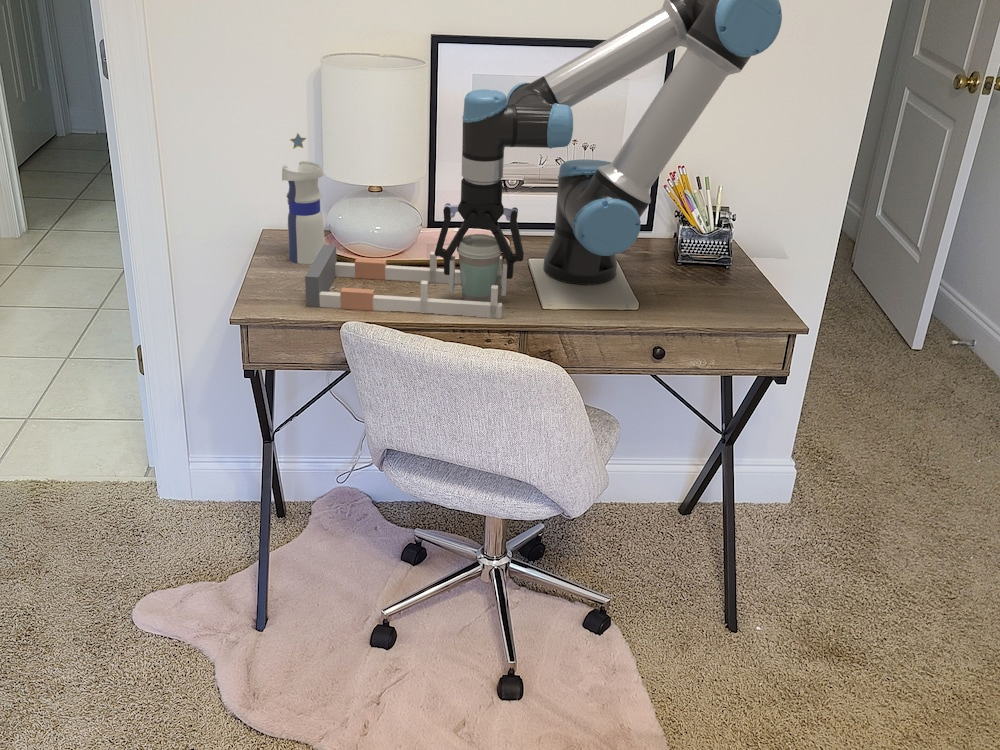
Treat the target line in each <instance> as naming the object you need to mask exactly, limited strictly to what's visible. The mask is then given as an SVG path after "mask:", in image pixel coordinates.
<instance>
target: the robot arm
mask: <svg viewBox="0 0 1000 750" xmlns="http://www.w3.org/2000/svg"><path fill="white" fill-rule="evenodd" d="M782 20H783V13H782V6H781V3H780V0H664V1H663V3H662V7H661V8H660V9H658V10H657V11H654V12H653V13H651V14H650V15H648V16H646V17H644V18H643V19H640V20H639V21H637V22H636V23H633V24H632V25H630V26H629V27H627V28H625V29H623V30H621V31H620V32H618V33H617V34H615V35H613V36H611V37H610V38H608V39H606V40H604V41H603V42H600V43H599V44H597V45H595V46H594V47H592V48H591V49H589V50H587V51H585V52H583V53H581V54H579V55H578V56H576V57H575V58H573V59H571V60H569V61H568V62H566V63H564V64H563V65H561V66H559V67H557V68H556V69H554V70H551V71H550V72H548V73H546V74H545V75H543V76H541V77H540V78H538V79H536V80H535V79H534V81H532V82H520V83H518V84H515V85H514V86H513V87H512V88H511V89H509V92H508V94H507V95H506V94H505V93H504V92H503V91H500V90H495V89H493V90H492V89H486V88H485V89H483V88H482V89H474V90H471V91H469V92H467V94H466V95H465V97H464V100H463V101H464V102H463V103H464V104H463V115H462V117H461V119H462V148H461V150H462V153H461V177H462V179H461V181H460V184H461V185H460V201H459V204H453V205H451V203H450V202H449V203H448V202H447V203H445V205H444V207H443V223H442V226H441V228H440V233H439V235H438V236H439V237H438V240H437V243H436V246H435V251H434V252H435V256H437V257H440V258H442V259H443V269H444V274H445V275H450V279H449V285H448V287H449V288H448V292H449V293H451V294H453V293H454V291H455V285H456V284H455V269H456V256H455V255H454V253H455V252H456V251H457V246H458V245H459V243H460V242H461V240H462V238H463V237H464V236H466V235H465V234H466V233H467V232H468V231H469V229H470V228H471V229H482V230H489V229H490V232H491V234H492V236H493V237H495V239H496V241H497V243H498V245H499V247H500V249H501V251H502V255H503V256H504V259H503V262H502V272H503V279H502V287H501V297H506V295H507V284H508V280H512V279H513V277H514V264H515V263H518V262H523V261H524V256H525V254H524V249H523V244H522V237H521V234H520V229H519V223H518V220H517V219H518V214H519V209H518V208H517V207H512V208H508V207H504V205H503V202H502V201H503V181H502V179H503V178H504V177H503V176H504V163H505V162H504V159H505V156H504V155H505V148H538V149H539V148H541V149H542V148H547V149H556V148H567V147H568V146H569V145H570V143H571V141H572V138H573V132H574V114H573V111H572V107H573V106H576V105H577V104H579V103H581V102H582V101H584V100H586V99H588V98H589V97H591V96H593V95H594V94H597V93H598V92H600V91H602V90H603V89H606V88H607V87H609V86H611V85H613V84H615V83H617V82H618V81H620V80H621V79H623V78H625V77H627V76H629V75H630V74H632V73H634V72H636V71H638V70H640V69H642V68H643V67H645V66H646V65H648V64H650V63H652V62H654V61H656V60H657V59H659V58H661V57H663V56H664V55H666V54H667V53H670V52H672V51H673V50H675V49H677V48H680V47H684V48H686V50H685V52H684V53H682V54H683V55H682V56H681V57H680V59H679V60H678V62H677V64H676V65H675V67H674V68H673V70H672V71H671V73H670V74H669V75H668V76H667V78H666V80H665V82H663V84H662V86H661V88H660V89H659V91H657V93H656V95H655V97H654V98H653V100H652V102H650V104H649V105H648V108H647V109H646V110H645V112H644V113H643V115H642V116H641V118H640V119H639V121H638V123H637V124H636V126H635V127H634V128H633V130H632V132H631V133H630V134H629V136H628V138H627V139H626V140H625V142H624V143H623V145H622V147H621V148H620V149H619V151H618V153H617V154H616V155H615V157H614V159H613V160H612V161H607V160H599V159H584V158H583V159H570V160H566V161H564V162H563V163H562V164H561V165H560V166H559V171H558V176H557V179H558V183H557V195H556V197H557V198H556V211H555V212H556V213H555V223H554V224H555V225H554V234H553V236H552V238H551V241H550V242H549V245H548V248H547V250H546V253H545V255H544V258H543V270H544V272H545V273H546V274H547V276H549V277H551V278H553V279H555V280H558V281H560V282H561V281H562V282H564V283H569V284H575V285H595V284H596V285H597V284H602V283H605V282H606V283H607V282H609V281H611V280H612V279H614V278H615V277H616V275H617V268H618V261H617V257H616V255H618V254H620V253H623V252H625V251H626V250H628V249H629V248H631V246H632V245H634V243H635V242H636V241H637V238H638V237H639V235H640V230H641V217H642V215H643V214H644V213H645V211H646V209H647V208H648V206H649V205H650V204H651V203H652V201H651V200H652V199H651V195H650V190H651V188H652V186H653V185H654V184H655V182H656V180H657V179H658V178H659V177H660V175H661V173H662V172H663V170H664V169H665V168H666V166H667V164H668V163H669V161H670V160H671V158H672V157H673V155H674V154H675V153H676V151H677V150H678V148H679V147H680V146H681V144H682V142H683V141H684V139H685V138H686V137H687V135H688V134H689V132H690V131H691V130H692V128H693V127H694V125H695V124H696V122H697V121H698V119H699V118H700V116H701V115H702V114H703V112H704V110H705V109H706V107H707V106H708V104H709V103H710V102H711V100H712V98H713V97H714V96H715V95H716V93H717V91H718V90H719V89H720V87H721V85H722V84H723V82H724V81H725V80H726V78H727V77H728V76H730V75H734V74H737V73H738V74H739V73H741V72H742V71H743V69H744V67H745V66H746V64H747V63H748V62H749V60H750V59H751V57H754V56H756V55H759V54H761V53H763V52H764V51H766V50H768V49H769V47H770V46H772V44H774V42H775V40H776V39H777V37H778V36H779V33H780V30H781V27H782ZM456 213H459V215H460V216H461V217H462V219H463V221H462V223H461V225H460V227H459V228H458V230H457V232H456V233H455V235H454V237H453V238H452V240H451V241H450V243H449V244H448V247H447V248H446V249H445V248H443V247H444V244H445V241H446V237H447V234H448V231H449V227H450V224H451V221H452V219H453V218H454V217H455V216H456ZM503 215H504V216H505V219H506V220H507V222H509V227H510V234H511V237H512V241H513V246H514V252H515V253H513V251H512V249H511V247H510V245H509V243H508V241H507V238H506V236H505V235H504V233H503V231H502V229H501V226H500V223H499V222H498V221H499V219H500V218H501V217H502V216H503Z"/></svg>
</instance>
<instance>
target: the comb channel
mask: <svg viewBox="0 0 1000 750" xmlns="http://www.w3.org/2000/svg"><path fill="white" fill-rule="evenodd" d="M429 253H430V254H429V267H423V266H420V267H419V266H407V265H406V266H405V265H403V266H402V265H393V264H391V265H389V264H387V260H386V259H374V258H355V261H354V262H343V261H338V260H337V246H336V245H334V244H333V245H331V244H325V245H323V246H322V248H321V250H320V252H319V253H318V255H317V257H316V258H315V260H314V262H313V264H310V267H309V269H308V271H307V272H306V274H305V276H304V283H305V300H306V307H312V308H313V307H316V308H318V307H319V308H332V309H342V310H343V309H344V310H358V311H372V312H373V311H378V312H391V311H408V312H409V311H410V312H424V313H434V314H433V315H438V314H447V315H446V316H453V315H463V316H462V317H469V316H476V317H475V318H485V317H486V318H487V319H488V318H489V319H502V315H503V303H502V302H498V300H499V299H498V297H499V296H498V295H499V288H502V279H503V256H502V255H500V259H499V265H498V271H497V277H496V283H495V285H492V287H491V302H479V301H464V300H463V299H462V300H461V299H444V298H430V297H429V283H432V284H449V279H450V275H445V274H444V268H437V266H438V264H437V263H438V256H435V251H430V252H429ZM336 277H337V278H338V277H339V278H352V279H353V278H354V279H363V280H364V279H365V280H368V279H369V280H381V281H388V280H389V281H402V282H416V283H420V297H415V296H402V295H401V296H399V295H398V296H397V295H396V296H395V295H383V294H380V295H379V294H375V289H373V288H372V289H370V288H369V289H368V288H353V287H341V289H340V292H336V291H329V290H330V288H331V286H332V284H333V282H334V280H335V279H336ZM455 285H461V274H460V269H456V268H455ZM435 313H436V314H435Z"/></svg>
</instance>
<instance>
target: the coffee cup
mask: <svg viewBox="0 0 1000 750" xmlns="http://www.w3.org/2000/svg"><path fill="white" fill-rule="evenodd" d="M456 251H457V254H458V260H459V261H458V262H459V270H460V274H461V284H460V285H461V294H462V295H461V296H462V300H463V301H479V302H491V287H492V285H495V283H496V277H497V271H498V265H499V259H500V256H501V254H503V252H502V251H501V249H500V247H499V245H498V243H497V241H496V239H495V237H494V235H489V234H485V233H473V234H472V233H471V234H466V235H464V237H463V238H462V240H461V242H460V243H459V245H458V246H457V248H456Z"/></svg>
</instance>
